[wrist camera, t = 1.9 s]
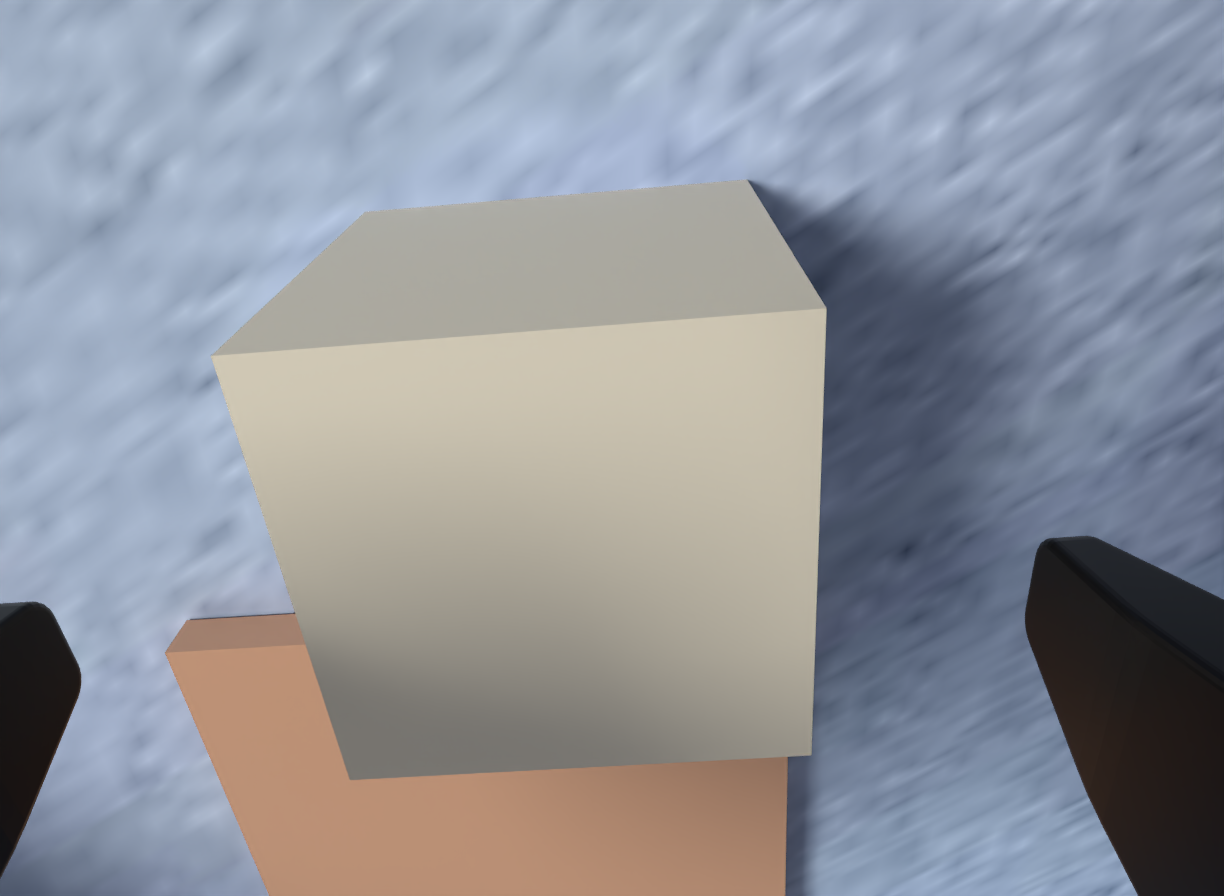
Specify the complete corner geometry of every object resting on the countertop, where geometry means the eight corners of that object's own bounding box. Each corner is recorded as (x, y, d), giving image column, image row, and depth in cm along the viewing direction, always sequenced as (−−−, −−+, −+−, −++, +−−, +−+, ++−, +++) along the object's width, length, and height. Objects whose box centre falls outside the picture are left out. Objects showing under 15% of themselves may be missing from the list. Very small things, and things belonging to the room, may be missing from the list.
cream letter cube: (435, 525, 14) (349, 780, 10) (366, 210, 12) (210, 355, 7) (757, 504, 14) (823, 754, 9) (754, 177, 11) (842, 306, 7)
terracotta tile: (327, 969, 20) (316, 1006, 19) (186, 620, 15) (165, 652, 14) (777, 951, 19) (783, 988, 18) (782, 584, 14) (790, 615, 14)
